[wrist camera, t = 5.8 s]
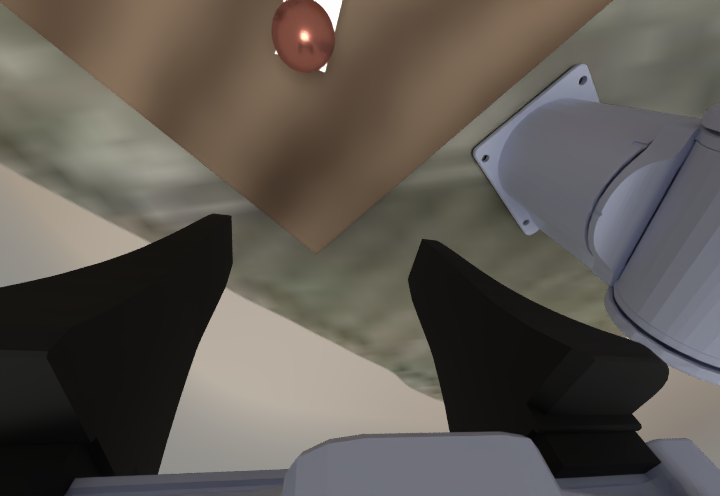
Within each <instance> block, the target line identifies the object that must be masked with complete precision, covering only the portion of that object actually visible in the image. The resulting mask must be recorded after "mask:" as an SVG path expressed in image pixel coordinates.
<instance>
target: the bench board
mask: <svg viewBox="0 0 720 496" xmlns="http://www.w3.org/2000/svg"><path fill="white" fill-rule="evenodd" d="M612 1H613V0H342V2H341V7H340V11H339V15H338V19H337V24H336V28H335V46H334V50H333V53H332V56H331V58H330V60H329V61H328V62H327V66H326V70H325V72H323V71H320V70H318V71H315V72H312V73H301V72H298V71H295V70H293V69H291V68H290V67H288V66H287V65H286V64H285V63H284V62H283V61H282V60H281V58H280V57H279V55H278V54H275V52H276V50H275V47H274V44H273V40H272V31H271V29H272V21H273V17H274V15H275V13H276V11H277V9H278V8H279V6H280V5H281V4H282V3H283V2H284V0H0V3H2V4H3V5H4V6H5V7H7V8H8V9H9V10H10V11H12V12H13V13H14V14H15V15H17V16H18V17H19V18H20V19H22V20H23V21H24V22H25V23H27V24H28V25H29V26H31V27H32V28H33V29H34V30H36V31H37V32H38V33H39V34H41V35H42V36H43V37H44V38H46V39H47V40H48V41H49V42H51V43H52V44H53V45H54V46H56V47H57V48H58V49H59V50H61V51H62V52H63V53H64V54H66V55H67V56H68V57H69V58H71V59H72V60H73V61H74V62H76V63H77V64H78V65H79V66H81V67H82V68H83V69H85V70H86V71H87V72H88V73H90V74H91V75H92V76H93V77H95V78H96V79H97V80H98V81H100V82H101V83H102V84H103V85H105V86H106V87H107V88H108V89H110V90H111V91H112V92H113V93H115V94H116V95H117V96H118V97H120V98H121V99H122V100H123V101H125V102H126V103H127V104H128V105H130V106H131V107H132V108H133V109H135V110H136V111H137V112H139V113H140V114H141V115H142V116H144V117H145V118H146V119H147V120H149V121H150V122H151V123H152V124H154V125H155V126H156V127H157V128H159V129H160V130H161V131H162V132H164V133H165V134H166V135H167V136H169V137H170V138H171V139H172V140H174V141H175V142H176V143H177V144H179V145H180V146H181V147H182V148H184V149H185V150H186V151H188V152H189V153H190V154H191V155H193V156H194V157H195V158H196V159H198V160H199V161H200V162H201V163H203V164H204V165H205V166H206V167H208V168H209V169H210V170H211V171H213V172H214V173H215V174H216V175H218V176H219V177H220V178H221V179H223V180H224V181H225V182H226V183H228V184H229V185H230V186H231V187H233V188H234V189H235V190H236V191H238V192H239V193H240V194H242V195H243V196H244V197H245V198H247V199H248V200H249V201H250V202H252V203H253V204H254V205H255V206H257V207H258V208H259V209H260V210H262V211H263V212H264V213H265V214H267V215H268V216H269V217H270V218H272V219H273V220H274V221H275V222H277V223H278V224H279V225H280V226H282V227H283V228H284V229H285V230H287V231H288V232H289V233H290V234H292V235H293V236H294V237H296V238H297V239H298V240H299V241H301V242H302V243H303V244H304V245H306V246H307V247H308V248H309V249H311V250H312V251H313V252H314V253H316V254H317V253H318V252H319V251H320V250H322V249H323V248H324V247H325V246H326V245H327V244H329V243H330V242H331V241H332V240H333V239H334V238H336V237H337V236H338V235H339V234H340V233H342V232H343V231H344V230H345V229H346V228H347V227H349V226H350V225H351V224H352V223H353V222H354V221H356V220H357V219H358V218H359V217H360V216H361V215H363V214H364V213H365V212H366V211H367V210H368V209H370V208H371V207H372V206H373V205H374V204H375V203H377V202H378V201H379V200H380V199H381V198H382V197H384V196H385V195H386V194H387V193H388V192H389V191H391V190H392V189H393V188H394V187H395V186H396V185H398V184H399V183H400V182H401V181H402V180H403V179H405V178H406V177H407V176H408V175H409V174H411V173H412V172H413V171H414V170H415V169H416V168H418V167H419V166H420V165H421V164H422V163H423V162H425V161H426V160H427V159H428V158H429V157H430V156H432V155H433V154H434V153H435V152H436V151H437V150H439V149H440V148H441V147H442V146H443V145H444V144H446V143H447V142H448V141H449V140H450V139H451V138H453V137H454V136H455V135H456V134H457V133H458V132H460V131H461V130H462V129H463V128H464V127H465V126H467V125H468V124H469V123H470V122H471V121H472V120H474V119H475V118H476V117H477V116H478V115H479V114H481V113H482V112H483V111H484V110H485V109H487V108H488V107H489V106H490V105H491V104H492V103H494V102H495V101H496V100H497V99H498V98H499V97H501V96H502V95H503V94H504V93H505V92H506V91H508V90H509V89H510V88H511V87H512V86H513V85H515V84H516V83H517V82H518V81H519V80H520V79H522V78H523V77H524V76H525V75H526V74H527V73H529V72H530V71H531V70H532V69H533V68H534V67H536V66H537V65H538V64H539V63H540V62H541V61H543V60H544V59H545V58H546V57H547V56H548V55H550V54H551V53H552V52H553V51H554V50H555V49H557V48H558V47H559V46H560V45H561V44H563V43H564V42H565V41H566V40H567V39H568V38H570V37H571V36H572V35H573V34H574V33H575V32H577V31H578V30H579V29H580V28H581V27H582V26H584V25H585V24H586V23H587V22H588V21H589V20H591V19H592V18H593V17H594V16H595V15H596V14H598V13H599V12H600V11H601V10H602V9H603V8H605V7H606V6H607V5H608V4H609V3H610V2H612Z"/></svg>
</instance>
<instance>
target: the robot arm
mask: <svg viewBox="0 0 720 496" xmlns="http://www.w3.org/2000/svg"><path fill="white" fill-rule="evenodd" d="M581 77H583V79H582V82H581V83H580V84H579V80H580V78H581ZM484 155H487V157H486V159H485V160H483V161H482V157H483V156H484ZM473 156H474V158H475V160H476V161H477V163H478V164H479V166H480V167H481V169H482V170H483V172H484V173H485V175H486V176H487V178H488V179H489V181H490V182H491V184H492V186H493V187H494V189H495V190H496V192H497V193H498V195H499V196H500V198H501V199H502V201H503V202H504V204H505V205H506V207H507V208H508V210H509V211H510V213H511V214H512V216H513V218H514V219H515V221H516V222H517V224H518V225H519V227H520V228H521V230H522V231H523V232H524V233H525V234H526V235H532V234H534V233H535V232H536V231H538V230H539V229H540V230H541V231H542V232H544V233H545V234H546V235H547V236H549V237H550V238H551V239H553V240H554V241H555V242H556V243H558V244H559V245H560V246H562V247H563V248H564V249H565V250H567V251H568V252H569V253H571V254H572V255H573V256H574V257H576V258H577V259H578V260H580V261H581V262H582V263H583V264H585V265H586V266H587V267H589V268H590V269H592V271H591V272H592V273H593V274H595V275H596V276H597V277H598V278H600V279H601V280H602V281H604V282H605V283H606V284H607V285H609V286H610V287H609V288H608V290H607V292H606V294H605V298H604V303H605V308H606V311H607V313H608V315H609V316H610V318H611V319H612V321H613V322H614V323H615V325H616V326H617V327H618V328H619V329H620V330H621V331H622V332H623V333H624V334H625V335H626V336H627V337H628V338H629V339H630V340H629V339H626V338H623V337H620V336H617V335H614V334H611V333H608V332H605V331H602V330H599V329H597V328H594V327H591V326H589V325H586V324H583V323H581V322H578V321H576V320H573V319H571V318H568V317H566V316H564V315H561V314H559V313H557V312H554V311H552V310H550V309H548V308H546V307H544V306H542V305H539V304H537V303H535V302H533V301H531V300H529V299H527V298H525V297H524V296H522V295H520V294H518V293H516V292H515V291H513V290H511V289H509V288H507V287H506V286H504V285H502V284H501V283H499V282H498V281H496V280H494V279H493V278H491V277H490V276H488V275H487V274H485V273H484V272H482V271H481V270H479V269H478V268H476V267H475V266H473V265H472V264H471V263H469V262H468V261H466V260H465V259H464V258H462V257H461V256H459V255H458V254H457V253H455V252H454V251H452V250H451V249H449V248H448V247H446V246H445V245H443V244H442V243H440V242H438V241H435V240H427V239H422V241H421V244H420V247H419V249H418V252H417V255H416V258H415V261H414V263H413V266H412V269H411V272H410V275H409V278H408V282H409V288H410V293H411V297H412V301H413V304H414V307H415V309H416V312H417V315H418V318H419V320H420V323H421V325H422V328H423V331H424V333H425V336H426V339H427V341H428V344H429V346H430V349H431V352H432V356H433V359H434V363H435V367H436V370H437V374H438V378H439V382H440V387H441V391H442V396H443V400H444V404H445V409H446V414H447V420H448V425H449V430H450V432H449V433H397V434H361V435H355V436H348V437H341V438H334V439H329V440H327V441H325V442H323V443H320V444H318V445H316V446H314V447H312V448H310V449H308V450H306V451H304V452H302V453H301V455H300V456H298V457H297V459H296V460H295V462H294V463H293V464H292V465H291V467H290V468H289V469H283V470H259V471H258V470H257V471H234V472H211V473H210V472H209V473H186V474H185V473H184V474H161V475H158V472H159V468H160V465H161V461H162V457H163V454H164V450H165V447H166V443H167V439H168V437H169V433H170V430H171V427H172V423H173V420H174V417H175V413H176V410H177V407H178V404H179V400H180V397H181V394H182V391H183V388H184V385H185V382H186V379H187V376H188V373H189V370H190V367H191V364H192V361H193V358H194V356H195V352H196V350H197V347H198V344H199V342H200V340H201V338H202V336H203V333H204V331H205V329H206V327H207V325H208V323H209V321H210V318H211V317H212V315H213V312H214V310H215V308H216V306H217V304H218V302H219V300H220V298H221V295H222V293H223V291H224V289H225V287H226V284H227V281H228V278H229V274H230V271H231V267H232V264H233V256H232V220H231V216H229V215H221V214H211V215H208V216H206V217H204V218H202V219H200V220H198V221H196V222H194V223H192V224H191V225H189V226H187V227H185V228H183V229H181V230H179V231H177V232H175V233H173V234H171V235H169V236H167V237H164V238H162V239H160V240H158V241H156V242H153V243H151V244H149V245H147V246H145V247H143V248H140V249H137V250H135V251H132V252H130V253H127V254H124V255H121V256H119V257H116V258H113V259H110V260H107V261H104V262H101V263H98V264H94V265H91V266H87V267H84V268H80V269H77V270H73V271H70V272H66V273H63V274H59V275H55V276H51V277H47V278H42V279H38V280H34V281H29V282H25V283H20V284H15V285H10V286H5V287H0V496H720V470H719V469H718V468H717V467H716V465H714V463H713V462H712V461H711V460H710V459H709V458H708V457H707V456H706V455H705V454H704V453H703V452H702V451H701V450H700V449H699V448H698V447H697V446H696V445H695V444H694V443H693V442H692V441H691V440H689V439H686V438H678V439H677V438H676V439H656V440H652V441H649V442H646V443H645V442H644V441H643V440H642V439H641V437H640V436H639V435H638V434H637V433H636V431H639V430H640V429H641V428H642V427H641V424H640V423H639V422H638V420H637V419H636V418H635V417H634V416H633V415H632V413H633V412H635V411H636V410H637V409H638V408H639V407H640V406H642V405H643V404H644V403H645V402H647V401H648V400H649V399H650V398H651V397H653V396H654V395H655V394H656V393H657V392H658V391H659V390H660V389H661V388H662V387H663V386H664V384H665V383H666V381H667V380H668V375H669V368H668V366H670V367H672V368H675V369H676V370H679V371H681V372H683V373H686V374H688V375H690V376H693V377H696V378H698V379H701V380H704V381H707V382H710V383H713V384H716V385H719V386H720V102H719V103H715V104H713V105H711V106H710V107H709V108H708V109H707V110H706V112H705V114H704V116H703V118H702V119H699V118H693V117H687V116H680V115H674V114H668V113H661V112H655V111H649V110H642V109H636V108H630V107H623V106H617V105H611V104H604V103H600V101H599V98H598V95H597V92H596V89H595V87H594V84H593V81H592V78H591V75H590V72H589V69H588V67H587V65H585V64H577V65H575V66H574V67H572V68H571V69H570V70H569V71H568V72H566V73H565V74H564V75H563V76H561V77H560V78H559V79H558V80H557V81H555V82H554V83H553V84H552V85H551V86H549V87H548V88H547V89H546V90H544V91H543V92H542V93H541V94H540V95H538V96H537V97H536V98H535V99H534V100H532V101H531V102H530V103H529V104H527V105H526V106H525V107H524V108H523V109H521V110H520V111H519V112H518V113H516V114H515V115H514V116H513V117H512V118H510V119H509V120H508V121H507V122H506V123H504V124H503V125H502V126H501V127H499V128H498V129H497V130H496V131H495V132H493V133H492V134H491V135H490V136H488V137H487V138H486V139H485V140H484V141H482V142H481V143H480V144H479V145H478V146H476V147H475V149H474V151H473ZM525 220H526V222H524V221H525ZM523 222H524V223H523ZM667 365H668V366H667Z"/></svg>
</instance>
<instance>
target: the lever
mask: <svg viewBox="0 0 720 496" xmlns="http://www.w3.org/2000/svg"><path fill="white" fill-rule="evenodd" d="M341 2H342V0H284V2H283V3H282V4H281V5H280V6H279V8H278V9H277V11H276V13H275V15H274V17H273V21H272V29H271V31H272V40H273V44H274V47H275V50H276V52H275V54H278V55H279V57H280V58H281V60H282V61H283V62H284V63H285V64H286V65H287V66H288V67H290V68H291V69H293V70H295V71H298V72H301V73H312V72H315V71H318V70H320V71H323V72H325V70H326V66H327V62H328V61H329V60H330V58H331V56H332V53H333V50H334V46H335V28H336V24H337V19H338V15H339V11H340V7H341Z"/></svg>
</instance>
